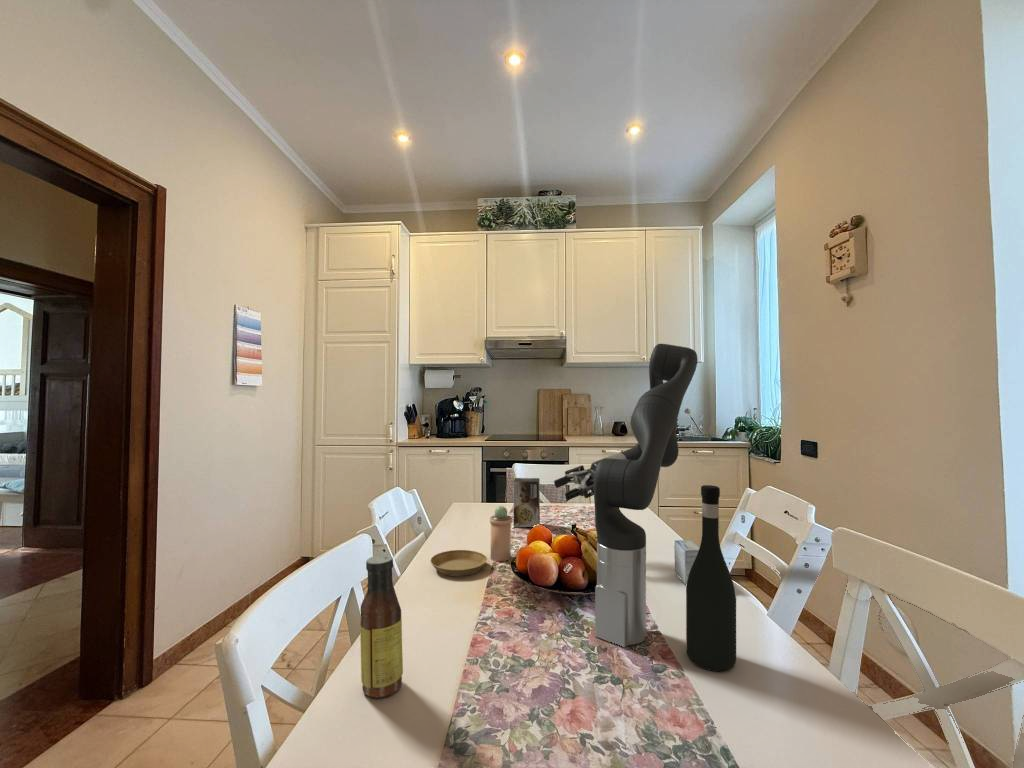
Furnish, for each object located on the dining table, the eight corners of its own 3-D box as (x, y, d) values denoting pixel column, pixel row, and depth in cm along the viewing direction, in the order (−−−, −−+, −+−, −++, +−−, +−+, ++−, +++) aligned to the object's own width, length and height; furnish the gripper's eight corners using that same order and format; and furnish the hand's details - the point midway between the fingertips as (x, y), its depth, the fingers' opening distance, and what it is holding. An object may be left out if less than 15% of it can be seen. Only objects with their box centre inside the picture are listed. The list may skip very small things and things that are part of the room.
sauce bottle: (409, 679, 75) (411, 554, 75) (389, 704, 69) (391, 568, 69) (373, 672, 76) (375, 550, 77) (350, 696, 70) (352, 563, 71)
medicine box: (703, 586, 112) (703, 550, 112) (684, 586, 112) (684, 549, 112) (691, 573, 120) (691, 539, 120) (674, 573, 120) (674, 539, 120)
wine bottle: (676, 652, 83) (676, 483, 84) (711, 644, 86) (710, 480, 86) (710, 678, 75) (709, 492, 76) (747, 668, 78) (746, 489, 79)
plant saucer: (459, 555, 133) (459, 545, 133) (498, 567, 124) (498, 557, 124) (418, 570, 121) (418, 560, 121) (458, 585, 112) (458, 574, 112)
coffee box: (540, 523, 166) (540, 477, 166) (539, 528, 159) (539, 481, 160) (514, 522, 166) (514, 477, 167) (512, 527, 160) (513, 480, 160)
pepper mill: (501, 563, 126) (501, 510, 126) (484, 558, 130) (485, 506, 130) (516, 557, 131) (516, 506, 131) (499, 552, 135) (500, 502, 135)
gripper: (597, 450, 140) (548, 469, 137) (620, 466, 127) (566, 488, 124) (602, 472, 142) (554, 491, 139) (625, 490, 129) (573, 513, 125)
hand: (560, 490), depth 131 cm, fingers open, 8 cm apart
